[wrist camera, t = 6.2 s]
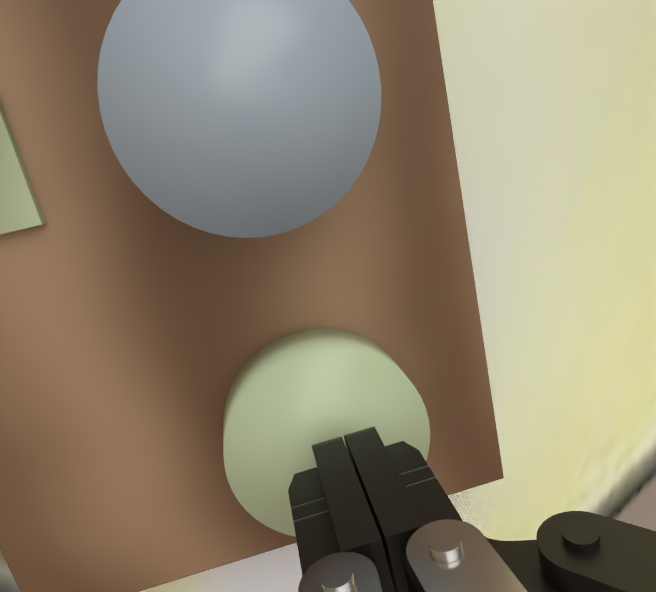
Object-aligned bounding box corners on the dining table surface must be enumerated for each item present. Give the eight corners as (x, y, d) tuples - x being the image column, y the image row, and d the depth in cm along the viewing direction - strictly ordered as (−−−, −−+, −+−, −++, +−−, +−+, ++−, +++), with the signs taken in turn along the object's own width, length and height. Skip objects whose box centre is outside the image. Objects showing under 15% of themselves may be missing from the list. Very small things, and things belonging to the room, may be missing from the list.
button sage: (391, 305, 15) (411, 325, 13) (423, 470, 16) (444, 504, 15) (199, 358, 14) (197, 383, 13) (251, 522, 16) (254, 564, 14)
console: (313, -469, 13) (341, -658, 10) (464, 430, 20) (508, 483, 17) (-348, -391, 12) (-556, -584, 9) (64, 549, 19) (32, 632, 16)
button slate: (334, -56, 11) (351, -85, 10) (381, 195, 13) (403, 202, 11) (77, -5, 11) (53, -29, 9) (158, 250, 12) (149, 267, 11)
